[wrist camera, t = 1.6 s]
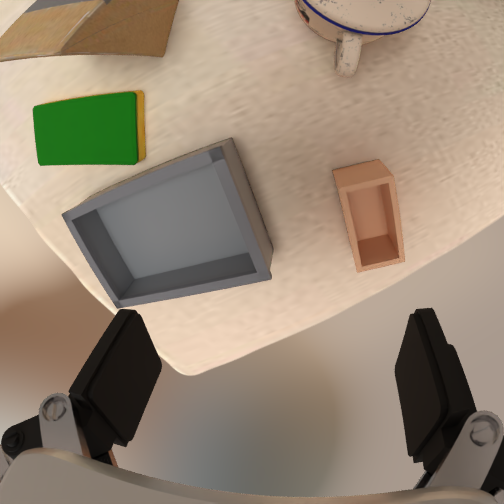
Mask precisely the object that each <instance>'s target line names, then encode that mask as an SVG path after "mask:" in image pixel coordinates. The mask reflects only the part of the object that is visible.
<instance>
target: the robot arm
mask: <svg viewBox="0 0 504 504" xmlns="http://www.w3.org/2000/svg"><path fill="white" fill-rule="evenodd" d="M161 369H162V363H161V360H160V358H159V356H158V353H157V351H156V349H155V347H154V345H153V342H152V340H151V338H150V335H149V333H148V331H147V328H146V326H145V324H144V321H143V319H142V317H141V315H140V314H138V313H137V311H136V310H130V309H120V310H119V311H118V312H117V314H116V315H115V317H114V318H113V320H112V322H111V323H110V325H109V326H108V328H107V329H106V331H105V332H104V334H103V336H102V337H101V338H100V340H99V342H98V343H97V345H96V346H95V348H94V350H93V351H92V353H91V355H90V356H89V358H88V359H87V361H86V362H85V364H84V366H83V368H82V369H81V371H80V372H79V374H78V376H77V378H76V379H75V381H74V383H73V384H72V386H71V387H70V389H69V393H70V394H69V396H67V395H65V394H63V393H55V394H51V395H50V396H48V397H47V398H46V399H44V400H43V402H42V404H41V405H40V408H39V415H37V416H35V417H32V418H30V419H28V420H25V421H23V422H21V423H19V424H16V425H14V426H11V427H10V428H8V429H7V430H6V431H5V433H4V434H3V436H2V441H1V445H0V504H504V435H503V434H504V428H503V424H502V422H501V420H500V419H499V417H498V416H497V415H495V414H494V413H492V412H489V411H478V412H477V410H476V407H475V403H474V400H473V397H472V394H471V391H470V388H469V385H468V382H467V379H466V376H465V374H464V371H463V368H462V366H461V363H460V360H459V357H458V355H457V352H456V350H455V348H454V346H453V345H451V344H448V343H447V341H446V338H445V336H444V333H443V331H442V328H441V326H440V323H439V321H438V319H437V317H436V314H435V312H434V310H433V309H432V308H424V309H416V310H415V313H414V314H410V316H409V320H408V324H407V328H406V331H405V335H404V338H403V342H402V345H401V348H400V352H399V355H398V358H397V362H396V365H395V377H396V382H397V387H398V393H399V399H400V404H401V409H402V416H403V422H404V429H405V436H406V443H407V450H408V455H409V456H410V457H411V456H413V461H414V463H418V462H423V466H424V470H426V471H425V472H424V474H423V475H422V477H421V478H420V479H419V481H418V482H417V484H416V485H415V487H414V488H413V489H412V490H403V491H396V492H388V493H380V494H368V495H355V496H340V497H279V496H262V495H251V494H241V493H232V492H225V491H218V490H210V489H205V488H199V487H194V486H188V485H184V484H179V483H174V482H169V481H165V480H161V479H157V478H153V477H149V476H145V475H142V474H138V473H135V472H131V471H128V470H124V469H121V468H119V467H118V465H117V462H116V459H115V457H114V454H113V451H112V446H113V443H114V444H117V445H120V446H124V447H126V446H127V444H128V442H129V441H131V440H132V439H133V437H134V435H135V432H136V430H137V427H138V425H139V422H140V420H141V417H142V415H143V413H144V410H145V408H146V405H147V403H148V401H149V398H150V396H151V393H152V391H153V389H154V386H155V384H156V381H157V379H158V377H159V374H160V372H161Z"/></svg>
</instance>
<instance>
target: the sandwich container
mask: <svg viewBox="0 0 504 504" xmlns="http://www.w3.org/2000/svg"><path fill="white" fill-rule="evenodd" d="M178 1H179V0H37V1H36V2H35V3H34V4H32V5H31V6H30V7H29V8H28V9H27V10H26V11H25V12H24V13H23V14H22V15H21V16H20V17H19V18H18V19H17V20H16V21H15V22H14V23H13V24H12V25H11V27H10V28H9V29H8V30H7V31H6V32H5V33H4V34H3V35H2V36H1V38H0V62H4V61H11V60H19V59H27V58H37V57H49V56H64V55H136V56H154V57H163V56H164V54H165V49H166V45H167V41H168V37H169V33H170V30H171V26H172V22H173V18H174V15H175V11H176V8H177V5H178Z"/></svg>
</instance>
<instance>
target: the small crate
mask: <svg viewBox="0 0 504 504" xmlns="http://www.w3.org/2000/svg"><path fill="white" fill-rule="evenodd" d="M332 171H333V175H334V178H335V182H336V186H337V190H338V194H339V198H340V202H341V206H342V210H343V214H344V218H345V223H346V227H347V231H348V236H349V240H350V245H351V249H352V253H353V257H354V261H355V266H356V270H357V273H358V272H362V271H367V270H371V269H375V268H380V267H384V266H388V265H392V264H397V263H401V262H405V255H404V245H403V236H402V228H401V220H400V213H399V206H398V199H397V193H396V187H395V182H394V176H393V174H392V173H391V172H390V171H389V170H388V169H387V168H386V167H385V165H384V164H383V163H382V162H381V161H380V160H379V159H377V160H373V161H369V162H364V163H360V164H356V165H351V166H347V167H343V168H339V169H335V170H332Z"/></svg>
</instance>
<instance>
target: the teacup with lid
mask: <svg viewBox="0 0 504 504" xmlns="http://www.w3.org/2000/svg"><path fill="white" fill-rule="evenodd" d="M430 2H431V0H295V5H296V8H297V11H298V13H299V15H300V17H301V18H302V20H303V21H304V22H305V23H306V25H307V26H308V27H309V28H310V29H312V30H313V31H314V32H315V33H317V34H318V35H320V36H322V37H323V38H325V39H328V40H330V41H333V42H336V47H335V57H334V67H335V72H336V73H337V74H338V75H339V76H342V77H351V76H353V75H354V73H355V71H356V69H357V66H358V62H359V58H360V52H361V45H362V44H366V43H370V42H372V41H375V40H377V39H379V38H381V37H383V36H385V35H391V34H396V33H399V32H402V31H405V30H407V29H409V28H411V27H412V26H414V25H415V24H417V23H418V22H419V21H420V20H421V19H422V18H423V16H424V15H425V14H426V12H427V10H428V8H429V5H430Z"/></svg>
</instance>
